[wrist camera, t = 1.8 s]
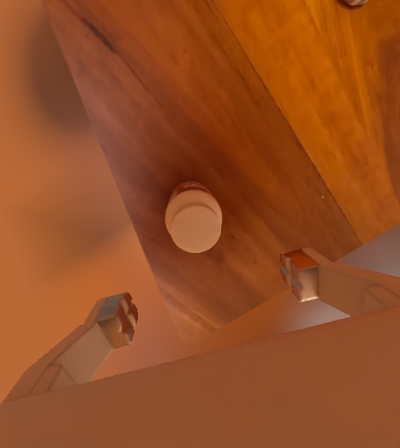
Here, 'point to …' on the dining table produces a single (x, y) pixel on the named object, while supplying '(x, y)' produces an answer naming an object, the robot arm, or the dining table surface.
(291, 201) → the dining table surface
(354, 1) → the seashell
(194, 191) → the pill bottle
